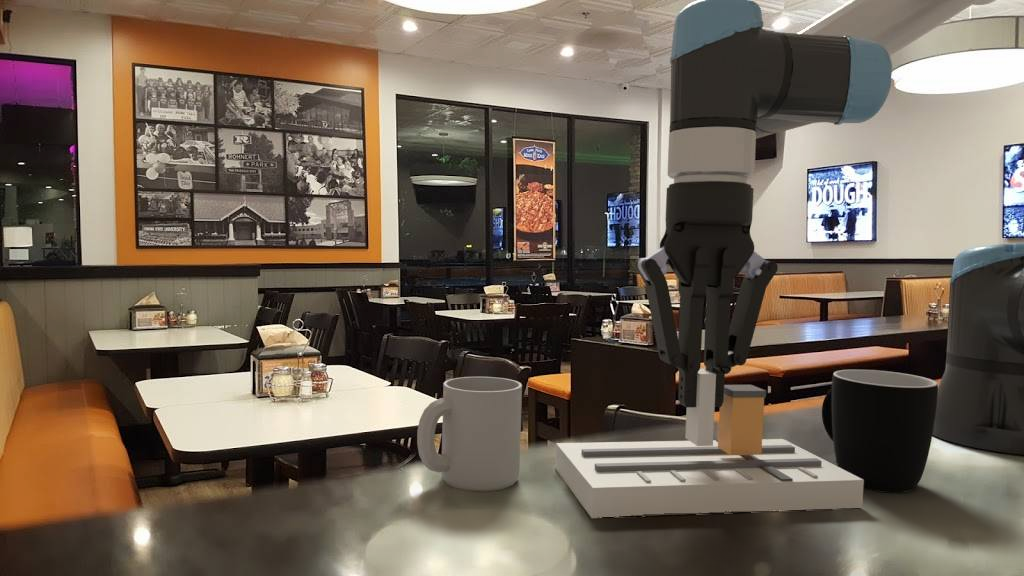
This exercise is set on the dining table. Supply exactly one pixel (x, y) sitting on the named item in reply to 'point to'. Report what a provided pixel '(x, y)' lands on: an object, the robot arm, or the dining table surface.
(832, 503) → the console
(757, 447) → the fader cap
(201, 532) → the dining table surface
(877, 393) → the mug
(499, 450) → the cup
